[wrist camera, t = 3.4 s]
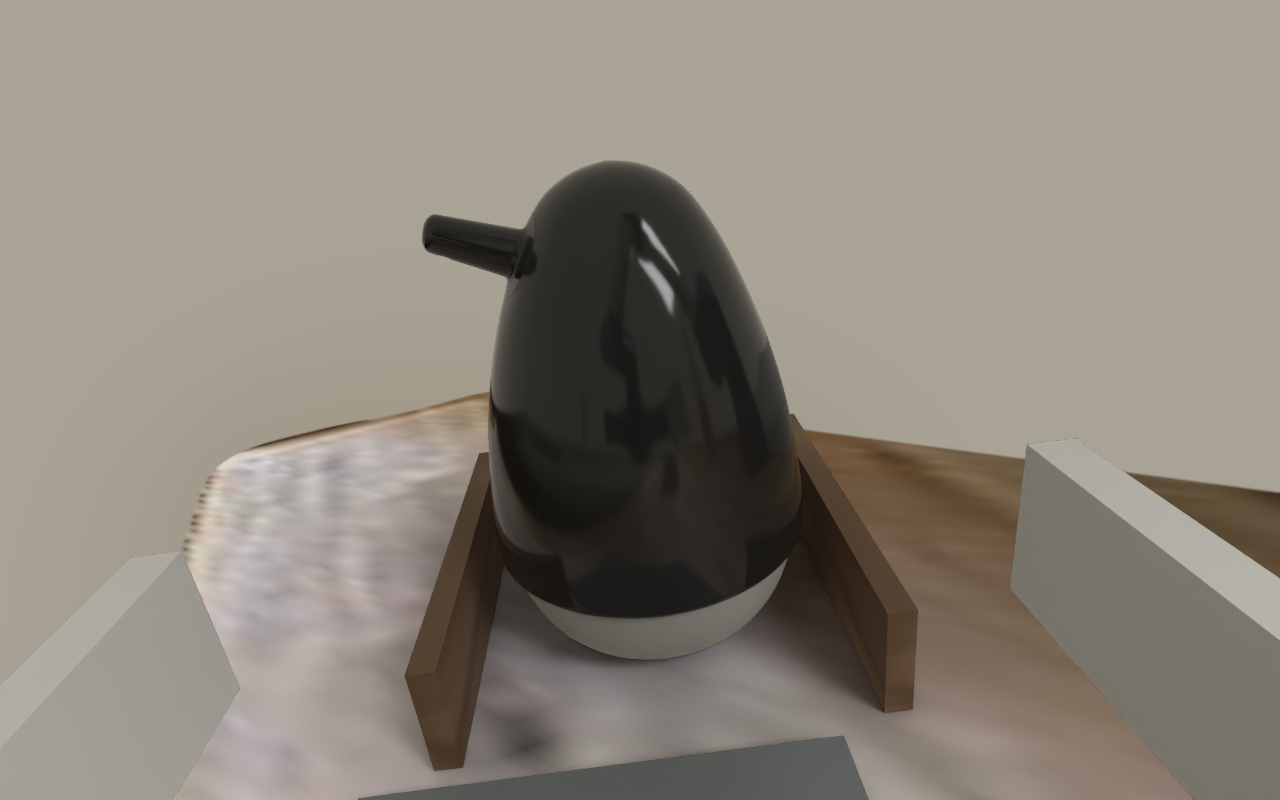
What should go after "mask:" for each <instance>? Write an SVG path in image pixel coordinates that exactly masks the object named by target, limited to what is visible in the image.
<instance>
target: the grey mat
mask: <svg viewBox="0 0 1280 800" xmlns="http://www.w3.org/2000/svg"><path fill="white" fill-rule="evenodd" d="M358 800H869V799H868V797H867V794H866V792H865V789H864V787H863V784H862V781H861V779H860V776H859V774H858V771H857V769H856V766H855V763H854V761H853V758H852V756H851V753H850V751H849V748H848V746H847V743H846V740H845V738H844V736H836V737H829V738H821V739H813V740H805V741H798V742H790V743H782V744H775V745H767V746H759V747H751V748H744V749H736V750H728V751H720V752H713V753H705V754H697V755H690V756H682V757H674V758H666V759H659V760H651V761H643V762H635V763H628V764H620V765H612V766H605V767H597V768H589V769H581V770H574V771H566V772H558V773H550V774H543V775H535V776H527V777H519V778H512V779H504V780H496V781H489V782H481V783H473V784H465V785H458V786H450V787H442V788H434V789H427V790H419V791H411V792H404V793H396V794H388V795H380V796H373V797H365V798H359V799H358Z"/></svg>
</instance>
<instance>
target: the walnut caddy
mask: <svg viewBox="0 0 1280 800" xmlns="http://www.w3.org/2000/svg"><path fill="white" fill-rule="evenodd" d="M790 418H791V423H792V428H793V434H794V439H795V445H796V450H797V456H798V462H799V468H800V475H801V483H802V496H803V522H802V529H801V533H800V534H801V537H802V539H803V541H804V543H805V545H806V547H807V549H808V551H809V554H810V556H811V558H812V560H813V562H814V564H815V566H816V568H817V570H818V573H819V575H820V577H821V579H822V581H823V583H824V585H825V587H826V589H827V592H828V594H829V596H830V598H831V600H832V602H833V604H834V606H835V609H836V611H837V613H838V615H839V617H840V619H841V621H842V623H843V625H844V628H845V630H846V632H847V634H848V636H849V638H850V640H851V642H852V644H853V647H854V649H855V651H856V653H857V655H858V657H859V659H860V661H861V664H862V666H863V668H864V670H865V672H866V674H867V676H868V678H869V680H870V683H871V685H872V687H873V689H874V691H875V693H876V695H877V697H878V699H879V702H880V704H881V706H882V708H883V710H884V712H893V711H901V710H908V709H913V693H914V674H915V656H916V637H917V618H918V610H917V608H916V606H915V605H914V603H913V602H912V600H911V599H910V597H909V595H908V594H907V592H906V591H905V589H904V587H903V586H902V584H901V583H900V581H899V580H898V578H897V576H896V575H895V573H894V572H893V570H892V569H891V567H890V565H889V564H888V562H887V561H886V559H885V558H884V556H883V554H882V553H881V551H880V550H879V548H878V546H877V545H876V543H875V542H874V540H873V539H872V537H871V535H870V534H869V532H868V531H867V529H866V528H865V526H864V524H863V523H862V521H861V520H860V518H859V516H858V515H857V513H856V512H855V510H854V509H853V507H852V505H851V504H850V502H849V501H848V499H847V498H846V496H845V494H844V493H843V491H842V490H841V488H840V487H839V485H838V483H837V482H836V480H835V479H834V477H833V475H832V474H831V472H830V471H829V469H828V468H827V466H826V464H825V463H824V461H823V460H822V458H821V457H820V455H819V453H818V452H817V450H816V449H815V447H814V446H813V444H812V442H811V441H810V439H809V438H808V436H807V434H806V433H805V431H804V430H803V428H802V427H801V425H800V423H799V422H798V420H797V419H796V417H795V416H794V414H790ZM503 566H504V561H503V558H502V555H501V552H500V548H499V544H498V539H497V534H496V529H495V523H494V516H493V506H492V495H491V482H490V466H489V452H486V453H479V456H478V459H477V462H476V465H475V468H474V471H473V474H472V477H471V480H470V483H469V486H468V489H467V492H466V495H465V498H464V501H463V504H462V507H461V510H460V512H459V515H458V518H457V521H456V524H455V527H454V530H453V533H452V536H451V539H450V542H449V545H448V548H447V551H446V554H445V557H444V560H443V563H442V566H441V569H440V572H439V575H438V578H437V581H436V584H435V587H434V590H433V593H432V596H431V599H430V602H429V605H428V608H427V611H426V614H425V617H424V620H423V623H422V626H421V629H420V632H419V635H418V638H417V641H416V644H415V647H414V650H413V652H412V655H411V658H410V661H409V664H408V667H407V670H406V673H405V679H406V682H407V685H408V688H409V691H410V694H411V698H412V701H413V704H414V707H415V710H416V713H417V717H418V720H419V723H420V726H421V729H422V732H423V736H424V739H425V742H426V745H427V748H428V751H429V755H430V758H431V761H432V764H433V767H434V770H435V771H436V770H444V769H452V768H459V767H463V764H464V759H465V754H466V749H467V744H468V739H469V734H470V729H471V724H472V719H473V714H474V709H475V704H476V699H477V694H478V690H479V685H480V680H481V675H482V670H483V665H484V660H485V655H486V650H487V645H488V640H489V635H490V630H491V625H492V620H493V615H494V610H495V605H496V600H497V595H498V590H499V585H500V581H501V576H502V571H503Z"/></svg>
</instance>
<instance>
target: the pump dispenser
mask: <svg viewBox="0 0 1280 800" xmlns="http://www.w3.org/2000/svg"><path fill="white" fill-rule="evenodd" d="M422 244H423V246H424V248H425V250H426V251H428V252H429V253H432V254H435V255H440V256H444V257H447V258H450V259H451V260H454V261H457V262H460V263H464V264H467V265H470V266H473V267H477V268H479V269H483V270H486V271H489V272H492V273H495V274H498V275H501V276H504V277H506V278H507V285H506V290H505V295H504V300H503V304H502V308H501V312H500V317H499V322H498V327H497V333H496V339H495V346H494V353H493V361H492V370H491V380H490V394H489V415H488V445H489V466H490V482H491V495H492V506H493V516H494V523H495V529H496V534H497V539H498V544H499V548H500V552H501V555H502V558H503V561H504V563H505V566H506V568H507V569H508V571H509V573H510V574H511V575H512V577H513V578H514V579H515V580H516V581H517V582H518V583H519V584H520V585H521V586H522V587H523V588H524V589H525V590H526V591H527V592H528V594H529V596H530V597H531V599H532V600H533V602H534V603H535V604H536V606H537V607H538V608H539V610H540V611H541V612H542V613H543V614H544V615H545V617H546V618H547V619H548V620H549V621H550V622H551V623H552V624H554V625H555V626H556V627H557V628H558V629H559V630H561V631H562V632H563V633H565V634H566V635H567V636H569V637H570V638H572V639H574V640H575V641H577V642H579V643H581V644H583V645H585V646H587V647H589V648H591V649H594V650H596V651H599V652H602V653H605V654H609V655H613V656H617V657H622V658H629V659H641V660H653V659H666V658H674V657H679V656H684V655H688V654H691V653H695V652H698V651H701V650H703V649H706V648H709V647H711V646H713V645H715V644H717V643H719V642H721V641H723V640H724V639H726V638H728V637H730V636H731V635H732V634H734V633H735V632H737V631H738V630H740V629H741V628H742V627H743V626H744V625H746V624H747V623H748V622H749V621H750V620H751V619H752V618H753V617H754V616H755V615H756V614H757V613H758V612H759V611H760V610H761V608H762V607H763V606H764V605H765V603H766V602H767V601H768V599H769V598H770V596H771V594H772V593H773V591H774V589H775V588H776V586H777V584H778V582H779V579H780V577H781V575H782V572H783V570H784V568H785V565H786V561H787V558H788V556H789V555H790V553H791V552H792V550H793V549H794V547H795V545H796V543H797V541H798V539H799V536H800V533H801V529H802V522H803V496H802V483H801V475H800V468H799V462H798V456H797V450H796V445H795V439H794V434H793V428H792V423H791V418H790V414H789V409H788V405H787V400H786V396H785V392H784V388H783V385H782V381H781V378H780V374H779V371H778V367H777V364H776V361H775V358H774V355H773V352H772V349H771V346H770V343H769V340H768V337H767V335H766V332H765V329H764V327H763V324H762V322H761V319H760V317H759V314H758V312H757V310H756V307H755V305H754V302H753V300H752V298H751V296H750V293H749V291H748V289H747V287H746V284H745V282H744V280H743V278H742V276H741V274H740V272H739V270H738V268H737V266H736V264H735V262H734V260H733V258H732V256H731V254H730V252H729V250H728V248H727V246H726V245H725V243H724V241H723V239H722V237H721V236H720V234H719V232H718V231H717V229H716V228H715V226H714V225H713V223H712V221H711V220H710V218H709V217H708V216H707V214H706V213H705V211H704V210H703V208H702V207H701V206H700V204H699V203H698V202H697V201H696V199H695V198H694V197H693V196H692V194H691V193H690V192H689V191H688V190H687V189H686V188H685V187H684V186H683V185H682V184H680V183H679V182H678V181H676V180H675V179H674V178H672V177H671V176H669V175H667V174H665V173H664V172H661V171H659V170H657V169H655V168H652V167H649V166H647V165H643V164H640V163H635V162H629V161H602V162H598V163H594V164H591V165H588V166H585V167H582V168H580V169H577V170H575V171H573V172H571V173H570V174H568V175H566V176H565V177H564V178H562V179H560V180H559V181H558V182H557V183H556V184H554V185H553V186H552V187H551V188H550V189H549V190H548V191H547V192H546V193H545V194H544V195H543V197H542V198H541V199H540V201H539V202H538V204H537V205H536V207H535V209H534V210H533V212H532V214H531V216H530V218H529V220H528V222H527V224H526V226H525V227H524V228H523V229H516V228H510V227H504V226H499V225H493V224H487V223H482V222H475V221H470V220H465V219H459V218H453V217H448V216H442V215H437V214H434V215H431V216H429V217H428V218H427V219H426V221H425V223H424V227H423V232H422Z"/></svg>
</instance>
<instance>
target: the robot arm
mask: <svg viewBox="0 0 1280 800" xmlns="http://www.w3.org/2000/svg"><path fill="white" fill-rule="evenodd" d="M1010 589H1011V590H1012V591H1013V592H1014V593H1015V595H1016V596H1017V597H1018V598H1019V599H1020V600H1021V601H1022V603H1023V604H1024V605H1025V606H1026V607H1027V608H1028V610H1029V611H1030V612H1031V613H1032V614H1033V615H1034V616H1035V618H1036V619H1037V620H1038V621H1039V622H1040V623H1041V624H1042V626H1043V627H1044V628H1045V629H1046V630H1047V631H1048V633H1049V634H1050V635H1051V636H1052V637H1053V638H1054V639H1055V641H1056V642H1057V643H1058V644H1059V645H1060V646H1061V647H1062V649H1063V650H1064V651H1065V652H1066V653H1067V654H1068V656H1069V657H1070V658H1071V659H1072V660H1073V661H1074V662H1075V664H1076V665H1077V666H1078V667H1079V668H1080V669H1081V670H1082V672H1083V673H1084V674H1085V675H1086V676H1087V677H1088V679H1089V680H1090V681H1091V682H1092V683H1093V684H1094V685H1095V687H1096V688H1097V689H1098V690H1099V691H1100V692H1101V693H1102V695H1103V696H1104V697H1105V698H1106V699H1107V700H1108V701H1109V703H1110V704H1111V705H1112V706H1113V707H1114V708H1115V710H1116V711H1117V712H1118V713H1119V714H1120V715H1121V716H1122V718H1123V719H1124V720H1125V721H1126V722H1127V723H1128V724H1129V726H1130V727H1131V728H1132V729H1133V730H1134V731H1135V733H1136V734H1137V735H1138V736H1139V737H1140V738H1141V739H1142V741H1143V742H1144V743H1145V744H1146V745H1147V746H1148V747H1149V749H1150V750H1151V751H1152V752H1153V753H1154V754H1155V756H1156V757H1157V758H1158V759H1159V760H1160V761H1161V762H1162V764H1163V765H1164V766H1165V767H1166V768H1167V769H1168V770H1169V772H1170V773H1171V774H1172V775H1173V776H1174V777H1175V779H1176V780H1177V781H1178V782H1179V783H1180V784H1181V785H1182V787H1183V788H1184V789H1185V790H1186V791H1187V792H1188V793H1189V795H1190V796H1191V797H1192V798H1193V799H1194V800H1280V578H1278V577H1277V576H1275V575H1274V574H1272V573H1271V572H1270V571H1268V570H1267V569H1265V568H1264V567H1262V566H1261V565H1259V564H1258V563H1256V562H1255V561H1254V560H1252V559H1251V558H1249V557H1248V556H1246V555H1245V554H1243V553H1242V552H1240V551H1239V550H1237V549H1236V548H1235V547H1233V546H1232V545H1230V544H1229V543H1227V542H1226V541H1224V540H1223V539H1221V538H1220V537H1218V536H1217V535H1216V534H1214V533H1213V532H1211V531H1210V530H1208V529H1207V528H1205V527H1204V526H1202V525H1201V524H1200V523H1198V522H1197V521H1195V520H1194V519H1192V518H1191V517H1189V516H1188V515H1186V514H1185V513H1183V512H1182V511H1181V510H1179V509H1178V508H1176V507H1175V506H1173V505H1172V504H1170V503H1169V502H1167V501H1166V500H1164V499H1163V498H1162V497H1160V496H1159V495H1157V494H1156V493H1154V492H1153V491H1151V490H1150V489H1148V488H1147V487H1146V486H1144V485H1143V484H1141V483H1140V482H1138V481H1137V480H1135V479H1134V478H1132V477H1131V476H1129V475H1128V474H1127V473H1125V472H1124V471H1122V470H1121V469H1119V468H1117V467H1116V466H1115V465H1113V464H1112V463H1110V462H1109V461H1107V460H1106V459H1105V458H1103V457H1102V456H1100V455H1099V454H1097V453H1096V452H1094V451H1093V450H1092V449H1090V448H1088V447H1087V446H1086V445H1084V444H1083V443H1081V442H1080V441H1078V440H1077V439H1075V438H1074V439H1067V440H1058V441H1051V442H1043V443H1035V444H1027V449H1026V457H1025V466H1024V474H1023V483H1022V491H1021V500H1020V508H1019V516H1018V525H1017V533H1016V542H1015V550H1014V559H1013V567H1012V576H1011V584H1010ZM239 690H240V686H239V684H238V682H237V679H236V677H235V675H234V672H233V670H232V668H231V665H230V663H229V661H228V659H227V656H226V654H225V652H224V649H223V647H222V645H221V642H220V640H219V638H218V635H217V633H216V631H215V628H214V626H213V624H212V621H211V619H210V617H209V614H208V612H207V610H206V607H205V605H204V603H203V600H202V598H201V596H200V593H199V591H198V589H197V586H196V584H195V582H194V579H193V577H192V575H191V572H190V570H189V568H188V565H187V563H186V561H185V558H184V556H183V554H182V551H180V552H172V553H165V554H156V555H148V556H141V557H132V558H130V559H129V560H128V561H127V562H126V563H125V564H124V565H123V566H122V567H121V568H120V569H119V570H118V571H117V572H116V573H115V574H114V575H113V576H112V577H111V578H110V579H109V580H108V581H107V582H106V583H105V584H104V585H103V586H102V587H101V588H100V589H98V590H97V592H95V593H94V595H92V596H91V597H90V598H89V599H88V600H87V601H86V602H85V603H84V604H83V605H82V606H81V607H80V608H79V609H78V610H77V611H76V612H75V613H74V614H73V615H72V616H71V617H70V618H69V619H68V620H67V621H66V622H65V623H64V624H63V625H62V626H61V627H60V628H59V629H58V630H57V631H56V632H55V633H54V634H53V635H52V636H51V637H50V638H49V639H47V641H45V642H44V643H43V644H42V646H40V647H39V648H38V649H37V650H36V651H35V652H34V653H33V654H32V655H31V656H30V657H29V658H28V659H27V660H26V661H25V662H24V663H23V664H22V665H21V666H20V667H19V668H18V669H17V670H16V671H15V672H14V673H13V674H12V675H11V676H10V677H9V678H8V679H7V680H6V681H5V682H4V683H3V684H2V685H1V686H0V800H173V799H174V797H175V796H176V794H177V792H178V791H179V789H180V787H181V786H182V784H183V782H184V781H185V779H186V777H187V776H188V774H189V773H190V771H191V769H192V768H193V766H194V764H195V763H196V761H197V759H198V758H199V756H200V754H201V753H202V751H203V749H204V748H205V746H206V744H207V743H208V741H209V739H210V738H211V736H212V734H213V733H214V731H215V729H216V728H217V726H218V724H219V723H220V721H221V719H222V718H223V716H224V714H225V713H226V711H227V709H228V708H229V706H230V705H231V703H232V701H233V700H234V698H235V696H236V695H237V693H238V691H239Z"/></svg>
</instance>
